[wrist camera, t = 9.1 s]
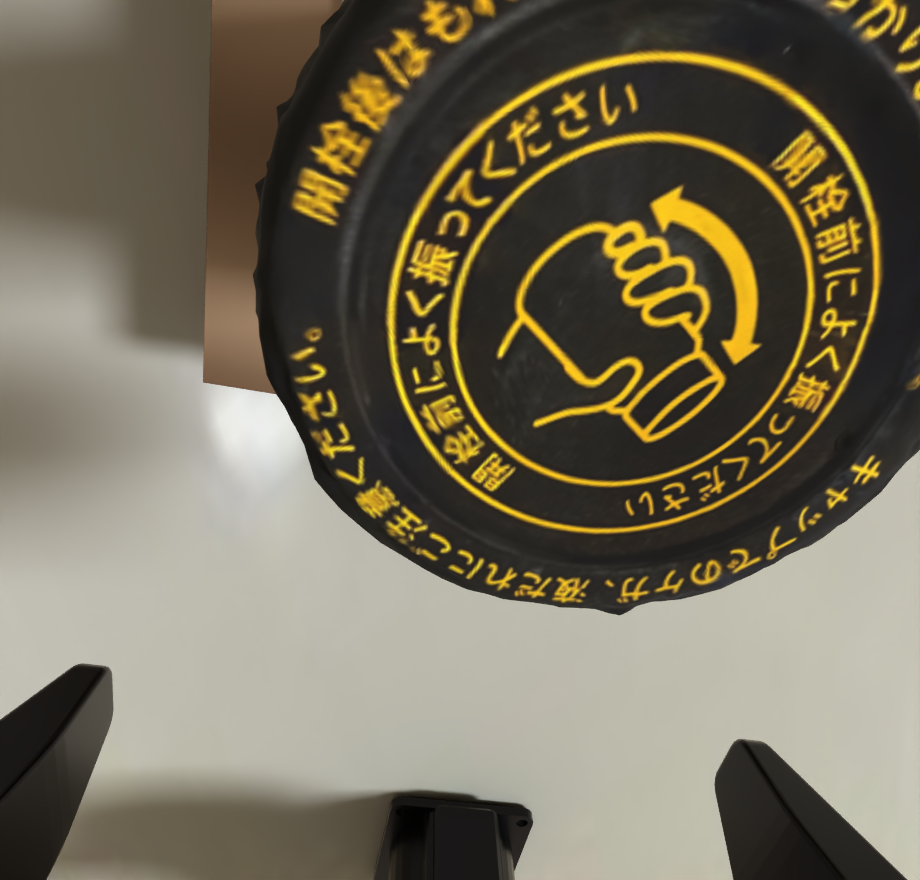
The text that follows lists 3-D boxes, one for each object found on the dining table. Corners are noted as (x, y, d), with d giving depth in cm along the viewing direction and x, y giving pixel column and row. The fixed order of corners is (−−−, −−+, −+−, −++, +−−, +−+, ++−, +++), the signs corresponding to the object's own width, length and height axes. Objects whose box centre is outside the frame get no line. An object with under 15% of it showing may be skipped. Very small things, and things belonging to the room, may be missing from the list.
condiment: (321, 284, 16) (121, 665, 5) (356, -171, 12) (-75, -1838, 2) (613, 329, 17) (932, 732, 6) (730, -83, 13) (2015, -807, 3)
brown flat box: (612, 395, 22) (646, 453, 19) (242, 332, 21) (203, 382, 17) (753, -38, 17) (839, -72, 13) (266, -164, 15) (217, -240, 12)
